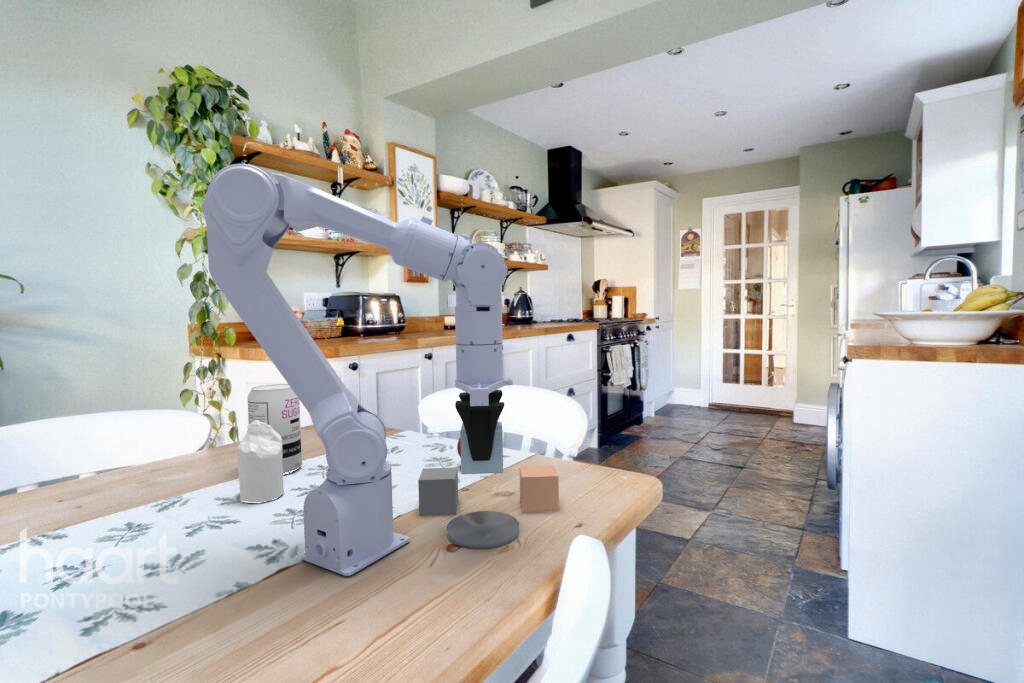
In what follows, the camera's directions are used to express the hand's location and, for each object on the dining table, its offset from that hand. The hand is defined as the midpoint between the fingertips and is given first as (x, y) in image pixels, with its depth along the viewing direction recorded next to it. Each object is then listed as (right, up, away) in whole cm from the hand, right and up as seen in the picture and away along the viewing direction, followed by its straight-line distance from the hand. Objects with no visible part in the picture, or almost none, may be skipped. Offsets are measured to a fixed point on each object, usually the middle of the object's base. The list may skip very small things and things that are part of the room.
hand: (481, 453), depth 61 cm
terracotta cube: (+8, -9, +9) cm, 15 cm away
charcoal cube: (-6, -10, +9) cm, 14 cm away
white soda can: (-38, -9, +27) cm, 47 cm away
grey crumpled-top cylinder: (-34, -10, +14) cm, 38 cm away
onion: (-3, -9, +26) cm, 28 cm away
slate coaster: (0, -10, +1) cm, 10 cm away
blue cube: (0, -2, 0) cm, 2 cm away
